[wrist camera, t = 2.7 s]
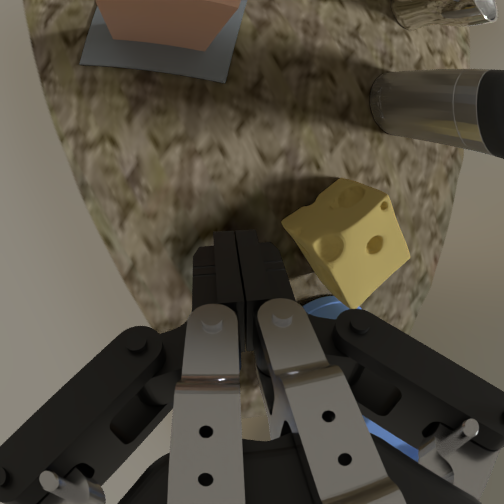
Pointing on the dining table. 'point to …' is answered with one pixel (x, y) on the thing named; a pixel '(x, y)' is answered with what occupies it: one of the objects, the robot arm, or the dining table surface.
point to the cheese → (349, 239)
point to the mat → (163, 52)
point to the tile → (167, 20)
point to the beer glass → (443, 12)
